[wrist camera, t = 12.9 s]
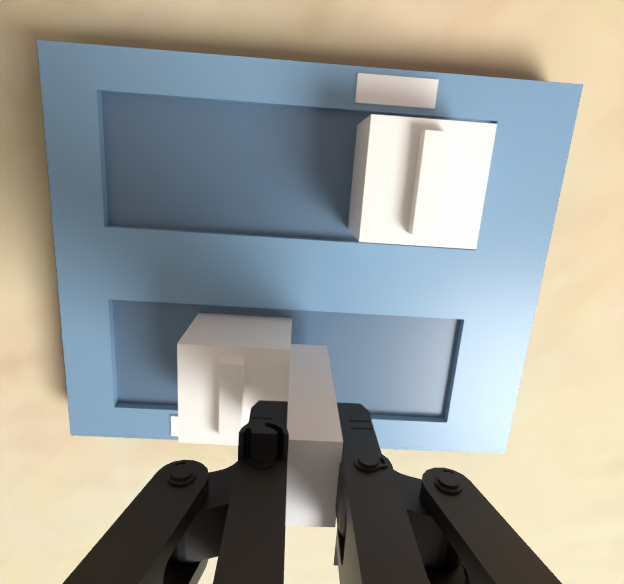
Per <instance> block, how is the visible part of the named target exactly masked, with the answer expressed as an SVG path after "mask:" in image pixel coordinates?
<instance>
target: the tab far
mask: <svg viewBox="0 0 624 584" xmlns="http://www.w3.org/2000/svg"><path fill="white" fill-rule="evenodd" d="M291 331H292V318H283V317H266V316H248V315H230V314H212V313H198V315H197V316H196V318H195V319H194V320H193V322H192V323H191V325H190V326H189V328H188V329H187V330H186V332H185V333H184V335H183V336H182V337H181V339H180V340H179V342H178V343H177V370H178V443H198V444H219V445H235V446H238V440H239V431H240V429H241V428H242V427H243V426H244V425H246V424H247V423H248V422H249V417H250V412H251V408H252V407H253V406H254V405H255V404H256V403H257V402H258V401H259V400H264V401H287V402H288V385H289V368H290V351H291Z"/></svg>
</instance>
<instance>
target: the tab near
mask: <svg viewBox="0 0 624 584" xmlns="http://www.w3.org/2000/svg"><path fill="white" fill-rule="evenodd" d="M496 128H497V124H492V123H479V122H466V121H453V120H440V119H427V118H414V117H401V116H388V115H376V114H371V115H370V116H368V117H367V118H366V119H365V120H363V121H362V122H361V123H360V124H358V125H357V132H356V143H355V154H354V165H353V176H352V188H351V199H350V210H349V221H348V229H349V231H350V232H351V233H352V234H353V235H354V237H355V238H356V239H357V240H358V241H359V242H369V243H385V244H400V245H416V246H432V247H447V248H463V249H476V247H477V241H478V235H479V229H480V223H481V217H482V211H483V205H484V199H485V193H486V187H487V182H488V176H489V170H490V164H491V158H492V152H493V146H494V140H495V134H496Z"/></svg>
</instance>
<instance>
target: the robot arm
mask: <svg viewBox="0 0 624 584" xmlns="http://www.w3.org/2000/svg"><path fill="white" fill-rule="evenodd" d="M336 517H337V536H336V547H335V557H334V565H338V568H339V578H340V584H562V583H561V582H560V581H559V580H558V579H557V578H556V576H555V575H554V574H553V573H552V572H551V571H550V570H549V569H548V568H547V566H546V565H545V564H544V563H543V562H542V561H541V560H540V559H539V557H538V556H537V555H536V554H535V553H534V552H533V551H532V550H531V548H530V547H529V546H528V545H527V544H526V543H525V542H524V541H523V540H522V538H521V537H520V536H519V535H518V534H517V533H516V532H515V531H514V529H513V528H512V527H511V526H510V525H509V524H508V523H507V522H506V520H505V519H504V518H503V517H502V516H501V515H500V514H499V513H498V512H497V510H496V509H495V508H494V507H493V506H492V505H491V504H490V503H489V501H488V500H487V499H486V498H485V497H484V496H483V495H482V494H481V492H480V491H479V490H478V489H477V488H476V487H475V486H474V485H473V484H472V482H471V481H470V480H468V479H467V478H466V477H465V476H464V475H462V474H460V473H458V472H456V471H454V470H451V469H447V468H432V469H429V470H427V471H426V472H425V473H424V474H423V476H422V480H421V479H417V478H413V477H410V476H406V475H403V474H401V473H399V472H397V471H395V470H393V467H392V464H391V463H390V461H389V459H388V458H386V457H385V456H384V455H382V454H381V450H380V447H379V443H378V440H377V437H376V433H375V430H374V427H373V423H372V420H371V416H370V413H369V411H368V410H367V409H366V408H365V407H364V406H363V405H362V404H359V403H337V402H336V396H335V390H334V384H333V378H332V372H331V366H330V360H329V354H328V348H327V346H325V345H304V344H291V351H290V368H289V385H288V402H287V401H264V400H259V401H258V402H257V403H256V404H255V405H254V406H253V407H252V408H251V412H250V417H249V422H248V423H247V424H246V425H244V426H243V427H242V428H241V429H240V431H239V440H238V461H237V462H236V463H235V464H233V465H232V466H230V467H228V468H226V469H223V470H219V471H214V472H209V473H208V470H207V468H206V467H205V466H204V465H203V464H202V463H199V462H197V461H194V460H180V461H175V462H172V463H170V464H167V465H165V466H164V467H162V468H161V469H160V470H159V471H158V472H157V473H156V474H155V475H154V476H153V478H152V479H151V480H150V481H149V482H148V483H147V485H146V486H145V487H144V488H143V489H142V491H141V492H140V493H139V494H138V495H137V496H136V498H135V499H134V500H133V501H132V502H131V504H130V505H129V506H128V507H127V508H126V509H125V511H124V512H123V513H122V514H121V515H120V517H119V518H118V519H117V520H116V521H115V522H114V524H113V525H112V526H111V527H110V528H109V529H108V531H107V532H106V533H105V534H104V535H103V537H102V538H101V539H100V540H99V541H98V542H97V544H96V545H95V546H94V547H93V548H92V550H91V551H90V552H89V553H88V554H87V555H86V557H85V558H84V559H83V560H82V561H81V563H80V564H79V565H78V566H77V567H76V568H75V570H74V571H73V572H72V573H71V574H70V576H69V577H68V578H67V579H66V580H65V581H64V583H63V584H197V583H198V581H199V579H200V577H201V576H202V574H203V572H204V570H205V568H206V565H207V562H208V559H209V558H213V557H217V556H218V561H217V566H216V571H215V576H214V581H213V584H284V552H285V526H314V527H335V522H336Z"/></svg>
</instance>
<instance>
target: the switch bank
mask: <svg viewBox="0 0 624 584" xmlns="http://www.w3.org/2000/svg"><path fill="white" fill-rule="evenodd" d="M37 49H38V61H39V72H40V84H41V96H42V107H43V119H44V130H45V142H46V154H47V165H48V177H49V189H50V200H51V212H52V223H53V235H54V247H55V258H56V270H57V282H58V293H59V305H60V316H61V328H62V340H63V351H64V363H65V375H66V386H67V398H68V410H69V421H70V433H71V435H78V436H102V437H125V438H149V439H172V440H178V370H177V343H178V342H179V340H180V339H181V337H182V336H183V335H184V333H185V332H186V330H187V329H188V328H189V326H190V325H191V323H192V322H193V320H194V319H195V318H196V316H197V315H198V313H212V314H230V315H248V316H266V317H283V318H292V331H291V344H304V345H325V346H327V348H328V354H329V360H330V366H331V372H332V378H333V384H334V390H335V396H336V402H337V403H359V404H362V405H363V406H364V407H365V408H366V409H367V410H368V411H369V413H370V416H371V420H372V423H373V427H374V430H375V433H376V437H377V440H378V443H379V447H380V448H382V449H406V450H429V451H453V452H476V453H499V454H505V452H506V447H507V442H508V437H509V433H510V428H511V423H512V418H513V414H514V409H515V404H516V399H517V395H518V390H519V385H520V381H521V376H522V371H523V366H524V362H525V357H526V352H527V347H528V343H529V338H530V333H531V328H532V324H533V319H534V314H535V310H536V305H537V300H538V295H539V291H540V286H541V281H542V276H543V272H544V267H545V262H546V257H547V253H548V248H549V243H550V239H551V234H552V229H553V224H554V220H555V215H556V210H557V205H558V201H559V196H560V191H561V187H562V182H563V177H564V172H565V168H566V163H567V158H568V153H569V149H570V144H571V139H572V134H573V130H574V125H575V120H576V116H577V111H578V106H579V101H580V97H581V92H582V87H583V84H571V83H559V82H547V81H535V80H523V79H510V78H498V77H486V76H474V75H462V74H449V73H437V72H425V71H413V70H401V69H389V68H376V67H364V66H352V65H340V64H328V63H315V62H303V61H291V60H279V59H267V58H254V57H242V56H230V55H218V54H206V53H194V52H181V51H169V50H157V49H145V48H133V47H120V46H108V45H96V44H84V43H72V42H60V41H47V40H37ZM371 114H376V115H388V116H401V117H414V118H427V119H440V120H453V121H466V122H479V123H492V124H497V128H496V134H495V140H494V146H493V152H492V158H491V164H490V170H489V176H488V182H487V187H486V193H485V199H484V205H483V211H482V217H481V223H480V229H479V235H478V241H477V247H476V249H463V248H447V247H432V246H416V245H400V244H385V243H369V242H359V241H358V240H357V239H356V238H355V237H354V235H353V234H352V233H351V232H350V231H349V229H348V221H349V210H350V199H351V188H352V176H353V165H354V154H355V143H356V132H357V125H358V124H360V123H361V122H362V121H363V120H365V119H366V118H367V117H368V116H370V115H371Z"/></svg>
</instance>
